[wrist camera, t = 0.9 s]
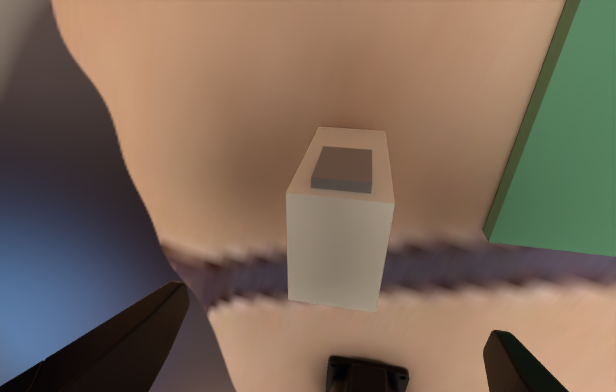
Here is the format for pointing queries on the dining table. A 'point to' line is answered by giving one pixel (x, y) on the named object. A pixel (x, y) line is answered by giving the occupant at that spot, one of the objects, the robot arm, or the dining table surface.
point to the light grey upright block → (340, 219)
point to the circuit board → (566, 144)
